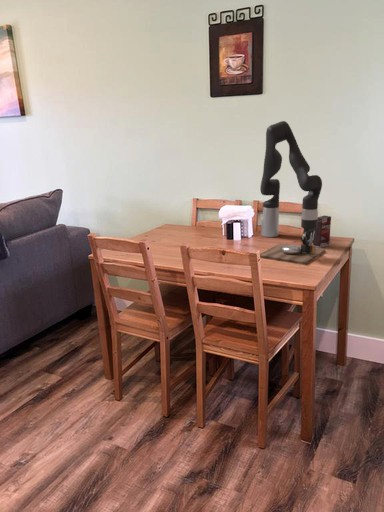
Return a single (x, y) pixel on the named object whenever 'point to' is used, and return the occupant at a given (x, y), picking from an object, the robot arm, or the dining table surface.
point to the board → (291, 255)
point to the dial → (295, 249)
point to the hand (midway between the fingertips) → (308, 252)
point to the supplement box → (322, 232)
